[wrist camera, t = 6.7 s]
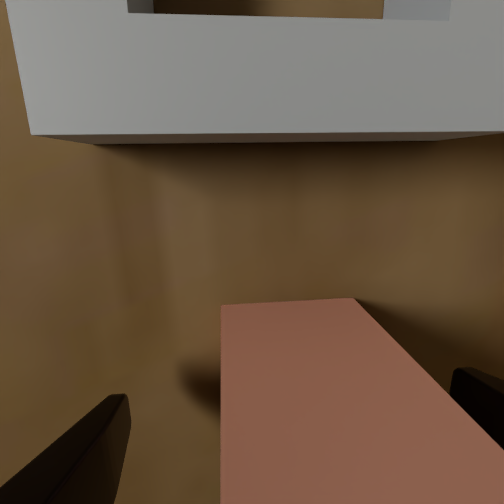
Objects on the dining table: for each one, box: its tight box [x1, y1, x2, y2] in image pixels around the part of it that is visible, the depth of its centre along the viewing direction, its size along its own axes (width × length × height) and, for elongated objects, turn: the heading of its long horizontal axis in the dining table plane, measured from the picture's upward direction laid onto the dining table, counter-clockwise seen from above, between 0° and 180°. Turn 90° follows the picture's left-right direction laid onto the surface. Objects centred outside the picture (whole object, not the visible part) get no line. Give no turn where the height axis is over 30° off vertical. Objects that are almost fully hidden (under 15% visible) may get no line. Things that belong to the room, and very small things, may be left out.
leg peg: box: [220, 298, 504, 504], centre depth 7 cm, size 4×4×7 cm
